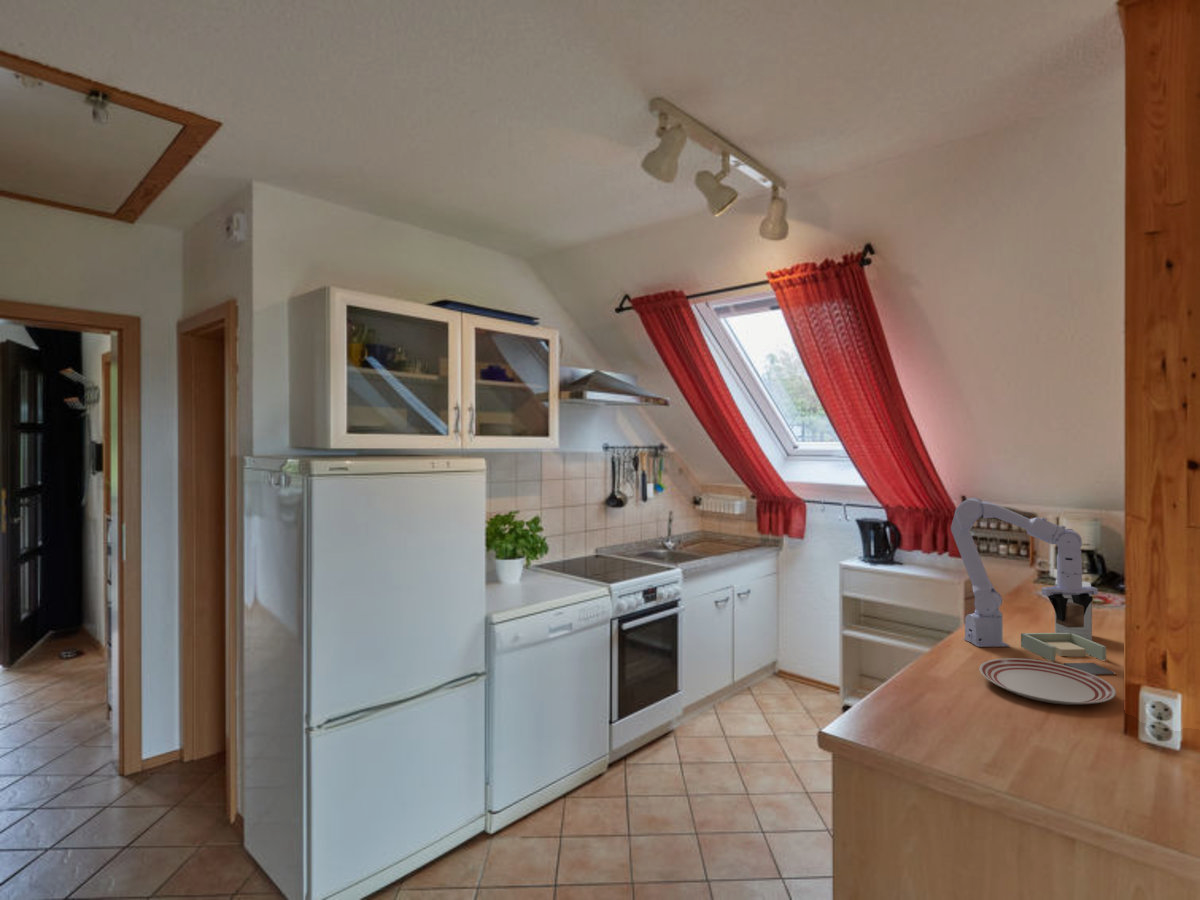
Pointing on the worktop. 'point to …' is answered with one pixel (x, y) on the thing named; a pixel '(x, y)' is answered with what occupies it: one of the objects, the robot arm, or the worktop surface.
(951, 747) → the worktop surface
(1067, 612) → the block
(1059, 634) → the crate
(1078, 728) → the worktop surface
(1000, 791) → the worktop surface
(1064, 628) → the supplement box
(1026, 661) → the dinner plate
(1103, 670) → the mat
